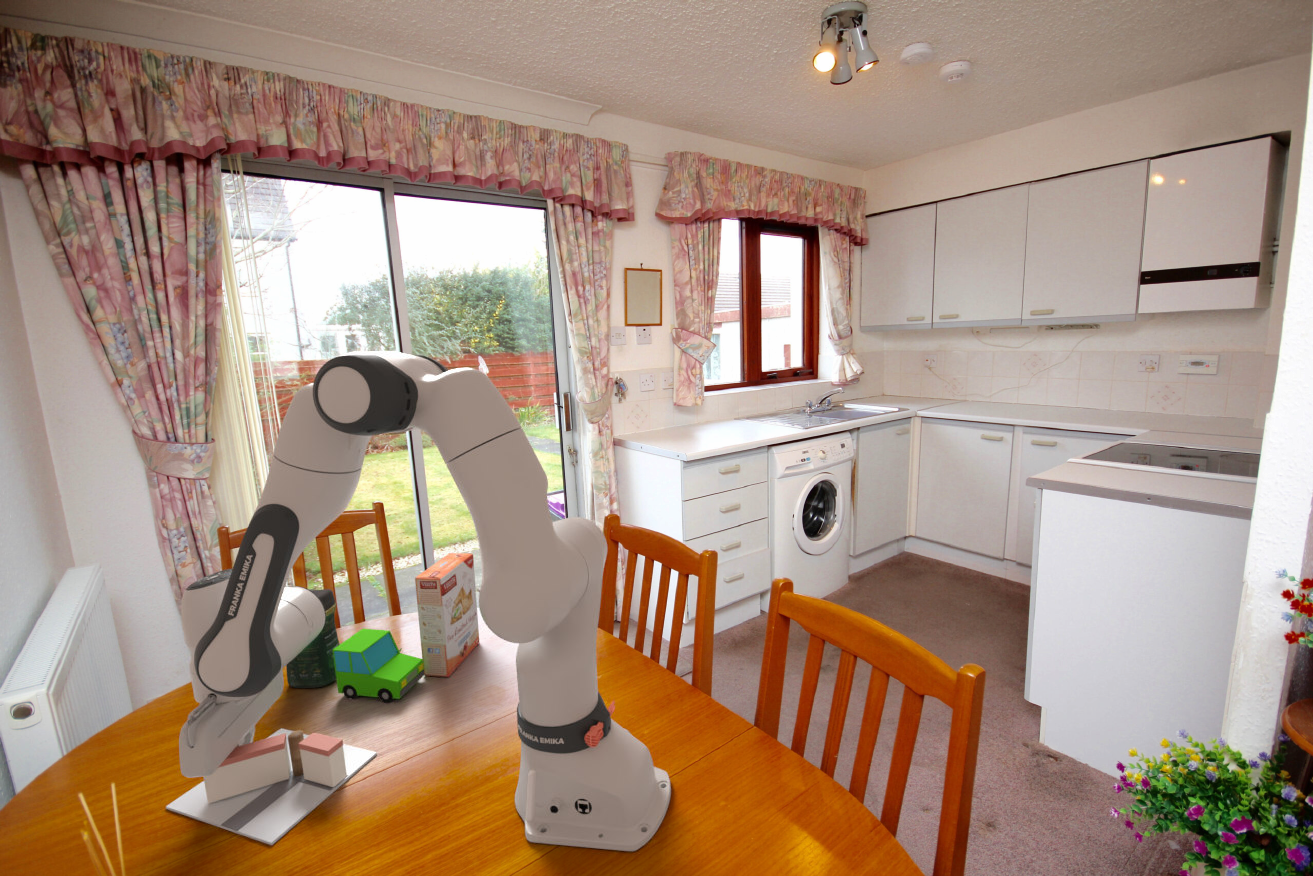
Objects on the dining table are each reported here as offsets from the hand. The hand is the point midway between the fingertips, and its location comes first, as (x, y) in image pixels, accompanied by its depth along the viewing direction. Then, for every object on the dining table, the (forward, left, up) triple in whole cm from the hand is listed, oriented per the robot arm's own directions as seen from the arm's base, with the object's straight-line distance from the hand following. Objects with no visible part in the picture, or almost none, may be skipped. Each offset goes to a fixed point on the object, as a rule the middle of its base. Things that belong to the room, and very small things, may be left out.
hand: (243, 759), depth 89 cm
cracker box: (-9, -38, -3) cm, 39 cm away
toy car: (-3, -25, -3) cm, 25 cm away
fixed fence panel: (-13, -3, -3) cm, 14 cm away
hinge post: (-8, -3, -3) cm, 9 cm away
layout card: (-5, -1, -3) cm, 6 cm away
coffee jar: (+13, -24, -3) cm, 28 cm away
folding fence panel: (-3, +2, -2) cm, 4 cm away
